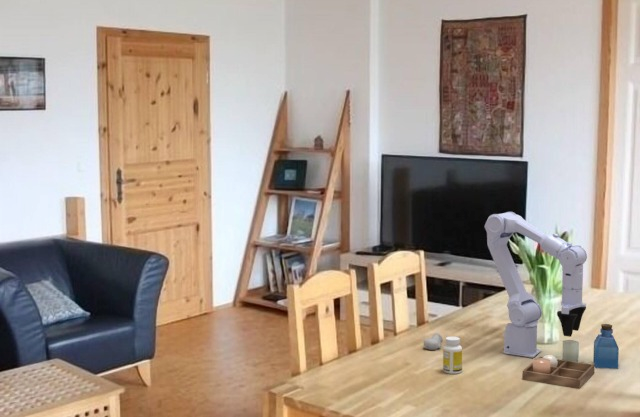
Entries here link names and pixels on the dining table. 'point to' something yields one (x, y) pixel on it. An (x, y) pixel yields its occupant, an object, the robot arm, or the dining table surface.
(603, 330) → the perfume bottle
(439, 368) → the dining table surface
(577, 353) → the sage green cylinder
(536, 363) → the pink rounded cylinder
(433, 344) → the smooth white sculpture
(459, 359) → the supplement bottle
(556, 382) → the wooden compartment tray
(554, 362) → the egg
